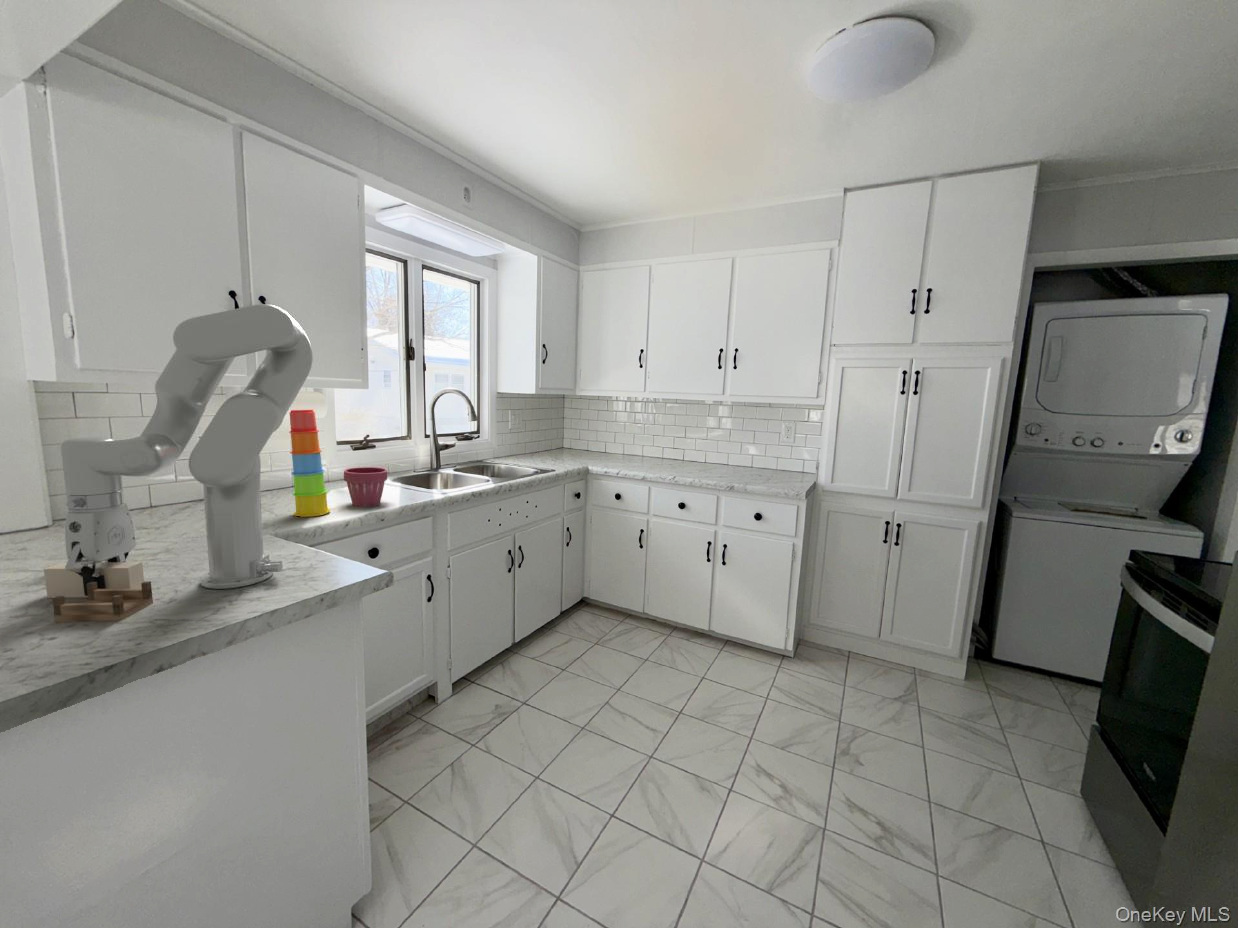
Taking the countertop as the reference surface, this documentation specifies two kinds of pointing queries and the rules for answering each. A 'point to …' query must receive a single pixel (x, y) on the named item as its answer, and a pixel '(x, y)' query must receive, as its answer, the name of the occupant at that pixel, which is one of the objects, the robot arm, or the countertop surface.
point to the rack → (104, 604)
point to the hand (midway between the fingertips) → (105, 589)
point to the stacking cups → (307, 465)
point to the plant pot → (365, 485)
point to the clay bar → (114, 574)
